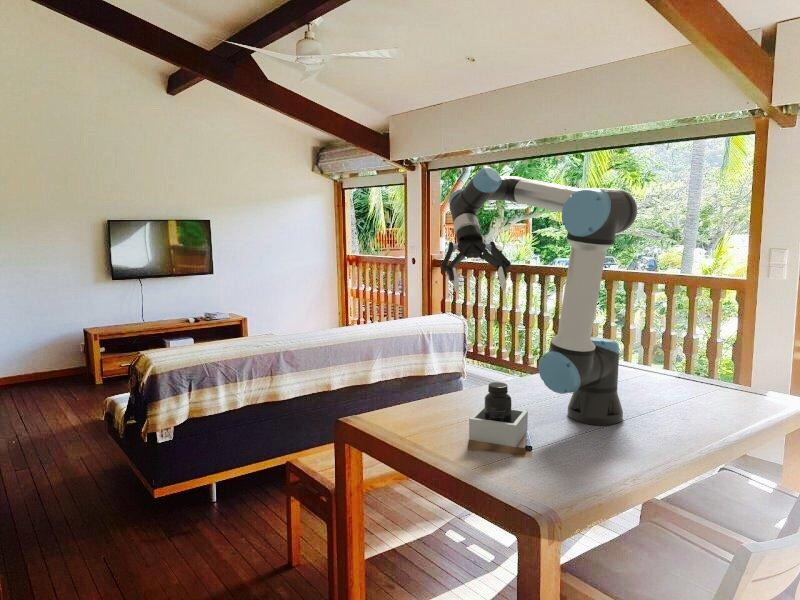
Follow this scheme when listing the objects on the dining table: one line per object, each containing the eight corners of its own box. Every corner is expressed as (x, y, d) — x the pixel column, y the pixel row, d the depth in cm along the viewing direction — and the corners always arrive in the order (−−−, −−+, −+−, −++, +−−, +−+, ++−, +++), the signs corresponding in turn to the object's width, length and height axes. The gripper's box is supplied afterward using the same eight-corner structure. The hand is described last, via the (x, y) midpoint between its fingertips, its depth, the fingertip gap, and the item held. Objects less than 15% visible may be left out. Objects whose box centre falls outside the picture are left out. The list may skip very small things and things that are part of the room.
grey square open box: (527, 430, 157) (527, 410, 156) (515, 447, 146) (516, 425, 145) (483, 424, 162) (483, 404, 161) (469, 439, 151) (469, 418, 150)
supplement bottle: (484, 424, 157) (484, 380, 156) (510, 425, 156) (511, 381, 154) (484, 434, 151) (484, 388, 149) (511, 435, 150) (512, 388, 148)
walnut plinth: (526, 436, 159) (526, 427, 159) (525, 457, 146) (525, 447, 145) (474, 432, 162) (474, 423, 162) (467, 452, 149) (467, 443, 149)
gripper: (505, 240, 184) (520, 294, 171) (425, 241, 180) (435, 297, 168) (511, 223, 178) (527, 278, 165) (428, 224, 174) (438, 280, 162)
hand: (480, 288), depth 166 cm, fingers open, 13 cm apart
